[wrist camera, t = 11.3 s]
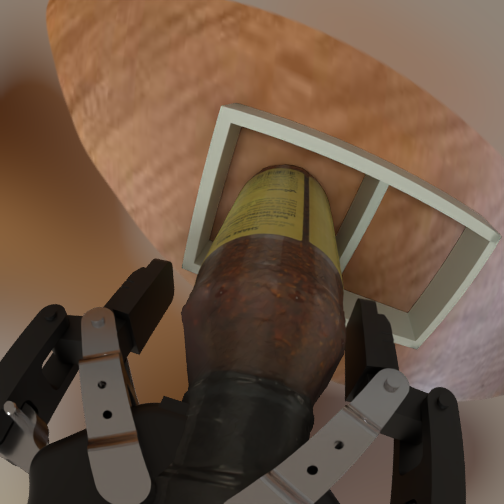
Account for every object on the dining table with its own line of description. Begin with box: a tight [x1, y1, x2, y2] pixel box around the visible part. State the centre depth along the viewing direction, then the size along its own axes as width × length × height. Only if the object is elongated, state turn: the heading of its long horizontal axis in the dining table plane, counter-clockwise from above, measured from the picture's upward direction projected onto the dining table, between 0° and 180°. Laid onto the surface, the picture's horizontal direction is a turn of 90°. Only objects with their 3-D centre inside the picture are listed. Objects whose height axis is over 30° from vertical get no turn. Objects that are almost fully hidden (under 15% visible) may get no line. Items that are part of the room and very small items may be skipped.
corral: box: [182, 103, 502, 349], centre depth 20 cm, size 20×12×4 cm, turn 73°
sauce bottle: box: [153, 165, 346, 504], centre depth 13 cm, size 6×6×20 cm
